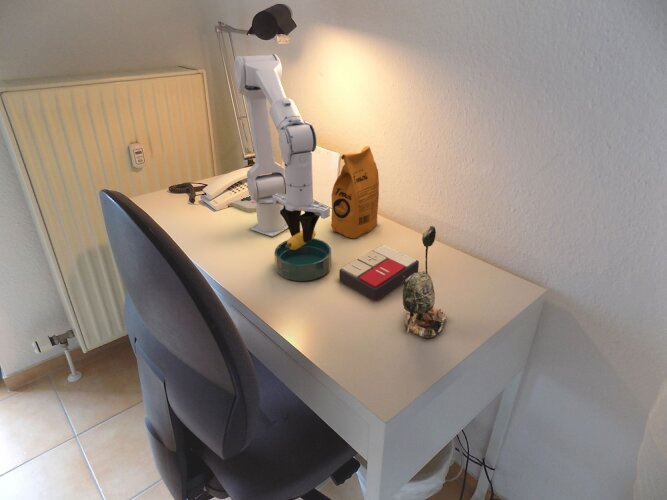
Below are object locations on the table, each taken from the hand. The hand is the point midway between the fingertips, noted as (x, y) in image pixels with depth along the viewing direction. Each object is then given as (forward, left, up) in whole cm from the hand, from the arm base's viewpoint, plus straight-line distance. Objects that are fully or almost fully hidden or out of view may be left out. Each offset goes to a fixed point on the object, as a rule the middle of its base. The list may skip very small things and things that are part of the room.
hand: (301, 238), depth 99 cm
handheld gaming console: (-23, -36, -8) cm, 43 cm away
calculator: (-6, +17, -8) cm, 20 cm away
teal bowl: (0, 0, -8) cm, 8 cm away
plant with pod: (+4, +32, -8) cm, 33 cm away
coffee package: (-24, -1, -8) cm, 25 cm away
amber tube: (0, 0, -1) cm, 1 cm away
